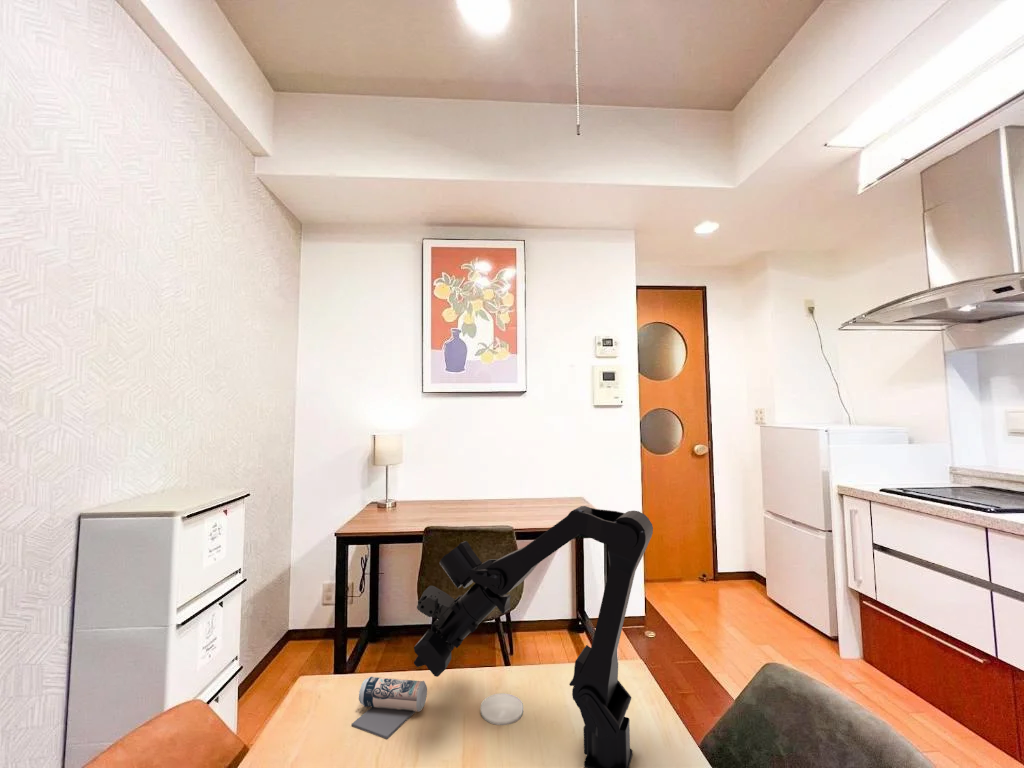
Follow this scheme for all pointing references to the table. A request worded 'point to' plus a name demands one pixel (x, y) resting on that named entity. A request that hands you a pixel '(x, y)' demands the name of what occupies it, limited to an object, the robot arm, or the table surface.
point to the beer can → (393, 693)
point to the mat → (382, 721)
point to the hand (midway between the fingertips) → (415, 664)
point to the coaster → (501, 709)
